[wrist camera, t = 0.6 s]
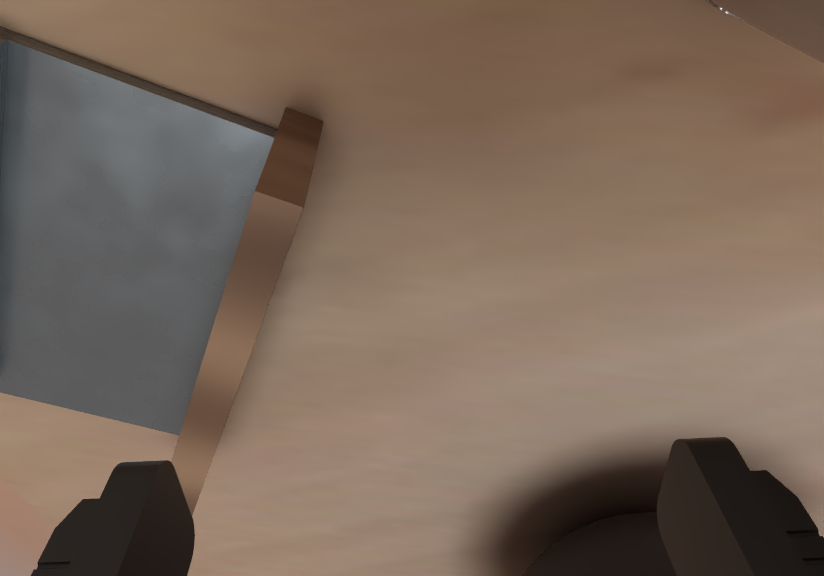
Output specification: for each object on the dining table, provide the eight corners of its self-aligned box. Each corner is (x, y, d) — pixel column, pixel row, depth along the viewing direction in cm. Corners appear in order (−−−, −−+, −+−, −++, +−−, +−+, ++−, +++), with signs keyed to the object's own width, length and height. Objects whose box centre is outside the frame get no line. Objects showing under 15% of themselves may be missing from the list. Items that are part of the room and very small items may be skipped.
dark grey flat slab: (-27, 17, 22) (-69, 35, 20) (278, 130, 25) (269, 157, 23) (-36, 370, 32) (-65, 407, 30) (186, 424, 35) (174, 461, 33)
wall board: (285, 107, 25) (254, 190, 19) (323, 121, 25) (303, 207, 19) (183, 436, 35) (142, 553, 29) (210, 443, 35) (176, 559, 30)
